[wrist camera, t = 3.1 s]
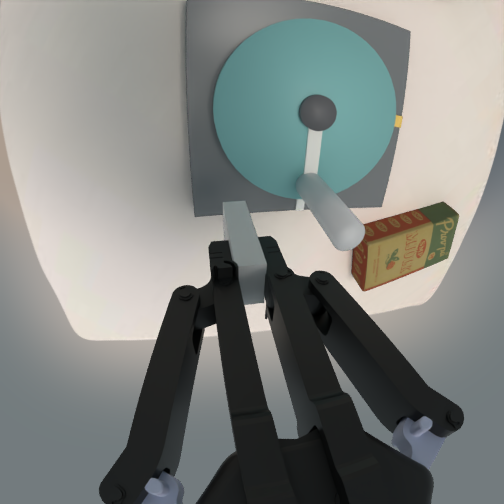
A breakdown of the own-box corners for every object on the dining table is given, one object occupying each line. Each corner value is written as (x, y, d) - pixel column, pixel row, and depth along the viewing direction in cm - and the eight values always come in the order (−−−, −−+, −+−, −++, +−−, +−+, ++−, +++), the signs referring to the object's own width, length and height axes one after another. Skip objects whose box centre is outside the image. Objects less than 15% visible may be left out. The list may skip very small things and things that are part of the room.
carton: (351, 224, 32) (368, 245, 29) (443, 198, 33) (462, 214, 29) (350, 273, 38) (363, 294, 34) (434, 243, 38) (449, 260, 34)
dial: (213, 14, 15) (224, -21, 7) (394, 42, 17) (472, 52, 10) (215, 196, 25) (225, 266, 17) (371, 191, 27) (425, 245, 20)
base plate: (188, 0, 15) (187, -6, 13) (398, 31, 18) (412, 31, 16) (194, 206, 27) (194, 218, 25) (372, 198, 30) (382, 208, 28)
